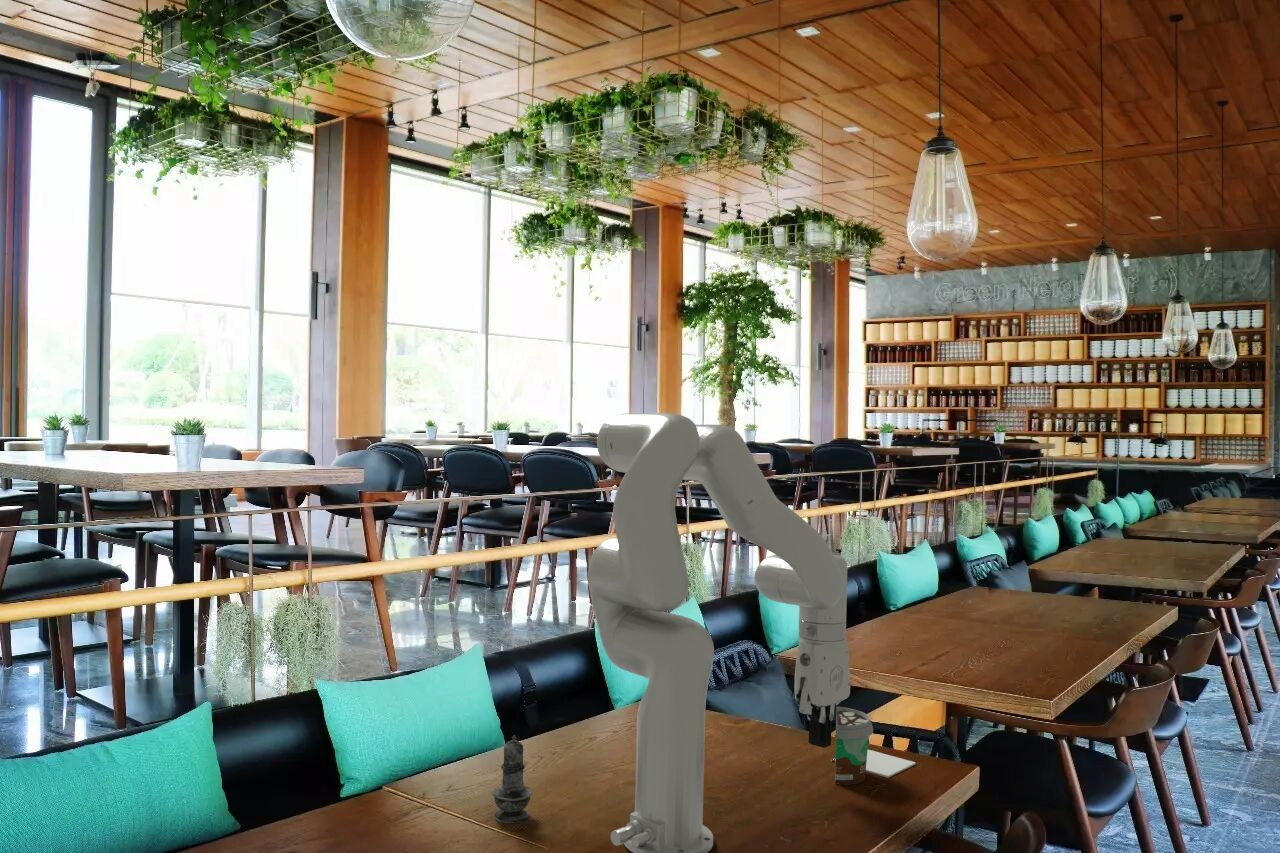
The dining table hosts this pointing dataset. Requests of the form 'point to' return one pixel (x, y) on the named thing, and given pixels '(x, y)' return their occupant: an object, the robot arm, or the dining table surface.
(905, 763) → the mat
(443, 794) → the dining table surface
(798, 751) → the dining table surface
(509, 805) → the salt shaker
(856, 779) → the food container
